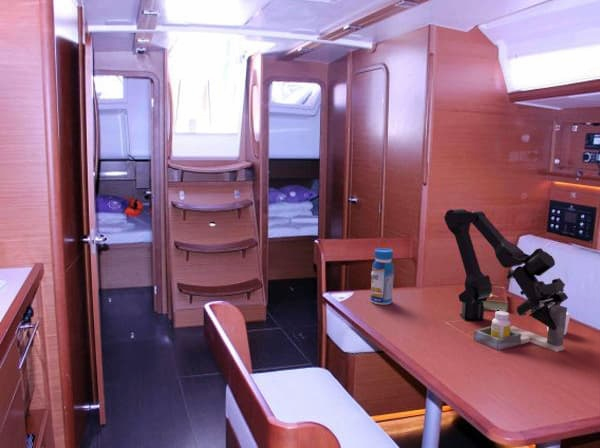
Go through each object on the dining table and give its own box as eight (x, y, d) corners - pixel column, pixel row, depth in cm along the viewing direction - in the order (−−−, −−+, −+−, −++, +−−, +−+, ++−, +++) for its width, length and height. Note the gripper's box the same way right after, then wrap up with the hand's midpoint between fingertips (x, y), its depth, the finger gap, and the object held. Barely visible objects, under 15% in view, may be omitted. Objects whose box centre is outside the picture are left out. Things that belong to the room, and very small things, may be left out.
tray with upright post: (473, 339, 170) (476, 299, 167) (509, 329, 180) (513, 291, 177) (528, 361, 154) (532, 317, 152) (564, 349, 164) (569, 307, 162)
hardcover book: (505, 297, 218) (506, 286, 217) (507, 313, 198) (508, 302, 197) (473, 293, 221) (474, 283, 220) (473, 309, 201) (474, 298, 201)
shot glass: (570, 337, 175) (573, 316, 173) (547, 335, 176) (550, 314, 175) (564, 329, 181) (567, 309, 180) (542, 327, 183) (545, 307, 181)
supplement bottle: (508, 341, 169) (511, 311, 168) (509, 348, 164) (512, 316, 163) (490, 339, 171) (492, 309, 169) (490, 345, 166) (493, 314, 164)
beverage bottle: (394, 305, 201) (397, 252, 198) (371, 305, 201) (373, 252, 198) (390, 298, 210) (393, 247, 206) (368, 298, 210) (371, 247, 206)
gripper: (529, 274, 159) (561, 321, 152) (565, 266, 170) (596, 310, 162) (503, 293, 167) (532, 339, 160) (539, 284, 177) (568, 327, 170)
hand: (558, 328), depth 163 cm, fingers closed on tray with upright post, 3 cm apart
